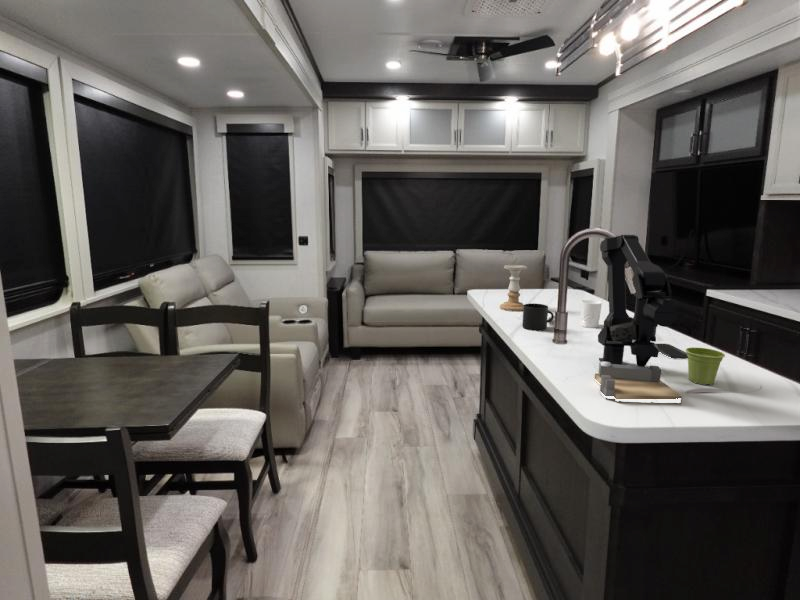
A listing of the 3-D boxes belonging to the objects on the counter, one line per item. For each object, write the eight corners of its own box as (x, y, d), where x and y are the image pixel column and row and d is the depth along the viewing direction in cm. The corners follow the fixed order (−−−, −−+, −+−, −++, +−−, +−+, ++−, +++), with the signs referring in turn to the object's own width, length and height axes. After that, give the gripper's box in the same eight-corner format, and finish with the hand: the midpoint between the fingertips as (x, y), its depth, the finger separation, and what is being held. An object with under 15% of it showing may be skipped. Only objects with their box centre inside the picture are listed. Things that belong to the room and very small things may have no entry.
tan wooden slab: (587, 380, 141) (588, 363, 140) (652, 381, 141) (654, 364, 140) (608, 402, 125) (610, 383, 125) (681, 404, 125) (683, 384, 124)
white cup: (596, 324, 208) (598, 300, 206) (602, 328, 200) (604, 304, 198) (577, 323, 208) (578, 299, 207) (581, 328, 201) (583, 303, 199)
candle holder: (495, 306, 240) (497, 264, 237) (517, 305, 244) (520, 264, 240) (507, 312, 229) (510, 268, 225) (531, 310, 233) (534, 267, 229)
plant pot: (685, 373, 148) (689, 345, 146) (723, 381, 142) (727, 351, 140) (678, 382, 140) (682, 352, 139) (718, 390, 135) (722, 359, 133)
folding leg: (599, 376, 137) (600, 364, 137) (598, 372, 141) (599, 360, 140) (659, 382, 134) (661, 369, 133) (656, 378, 137) (658, 365, 136)
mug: (556, 331, 195) (557, 308, 194) (524, 330, 196) (526, 308, 194) (549, 325, 204) (551, 303, 203) (520, 324, 205) (521, 303, 203)
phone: (668, 343, 177) (694, 356, 162) (667, 346, 177) (693, 359, 162) (646, 343, 176) (670, 356, 162) (645, 346, 177) (669, 359, 162)
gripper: (613, 305, 146) (608, 356, 150) (613, 321, 129) (608, 378, 133) (655, 309, 142) (649, 361, 146) (661, 326, 125) (654, 384, 129)
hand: (639, 370), depth 138 cm, fingers closed
